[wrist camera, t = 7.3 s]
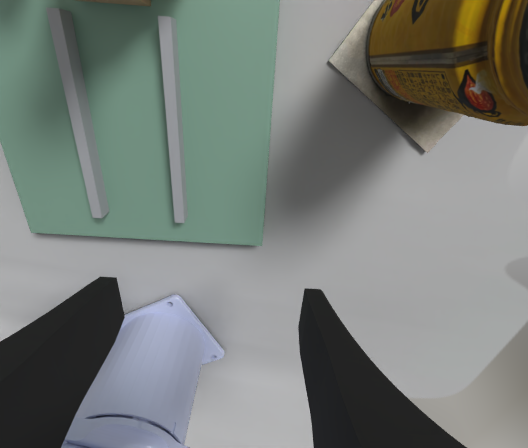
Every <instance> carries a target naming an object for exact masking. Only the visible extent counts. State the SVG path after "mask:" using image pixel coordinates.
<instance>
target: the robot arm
mask: <svg viewBox="0 0 528 448" xmlns="http://www.w3.org/2000/svg"><path fill="white" fill-rule="evenodd" d="M169 302H171V303H172V304H171V303H169ZM299 345H300V355H301V361H302V367H303V373H304V379H305V385H306V391H307V396H308V402H309V408H310V414H311V422H312V431H313V443H314V448H466V447H465V446H464V445H462V444H461V443H460V442H458V441H457V440H456V439H454V438H453V437H452V436H451V435H449V434H448V433H447V432H445V431H444V430H443V429H442V428H441V427H440V426H438V425H437V424H436V423H435V422H434V421H432V420H431V419H430V418H429V417H428V416H427V415H425V414H424V413H423V412H422V411H421V410H420V409H419V408H418V407H417V406H415V405H414V404H413V403H412V402H411V401H410V400H409V399H408V398H407V397H406V396H405V395H404V394H403V393H402V392H401V391H399V390H398V389H397V388H396V387H395V386H394V385H393V384H392V383H391V381H390V380H389V379H388V378H387V377H386V376H385V375H384V374H383V373H382V372H381V371H380V370H379V369H378V368H377V366H376V365H375V364H374V363H373V362H372V361H371V360H370V358H369V357H368V356H367V355H366V354H365V352H364V351H363V350H362V349H361V347H360V346H359V345H358V344H357V342H356V341H355V340H354V338H353V337H352V336H351V334H350V333H349V331H348V330H347V329H346V327H345V326H344V324H343V323H342V322H341V320H340V319H339V317H338V316H337V314H336V313H335V311H334V310H333V308H332V306H331V305H330V303H329V302H328V300H327V298H326V297H325V295H324V293H323V292H322V291H321V289H305V290H304V296H303V302H302V308H301V314H300V321H299ZM223 357H224V350H223V349H222V348H221V346H220V345H219V344H218V343H217V341H216V340H215V339H214V338H213V336H212V335H211V334H210V333H209V331H208V330H207V329H206V328H205V326H204V325H203V324H202V323H201V321H200V320H199V319H198V318H197V316H196V315H195V314H194V313H193V311H192V310H191V309H190V308H189V307H188V305H187V304H186V303H185V302H184V300H183V299H182V298H181V297H180V296H179V295H172V296H169V297H167V298H164V299H162V300H160V301H157V302H155V303H152V304H150V305H147V306H145V307H142V308H140V309H138V310H135V311H133V312H130V313H128V314H125V315H124V312H123V307H122V302H121V297H120V293H119V288H118V283H117V278H112V277H99V278H98V279H96V280H95V281H93V282H92V283H90V284H89V285H87V286H86V287H84V288H83V289H81V290H80V291H78V292H77V293H76V294H74V295H73V296H71V297H70V298H68V299H67V300H65V301H64V302H62V303H61V304H59V305H58V306H57V307H55V308H54V309H52V310H51V311H49V312H48V313H46V314H45V315H43V316H41V317H40V318H38V319H37V320H35V321H34V322H32V323H30V324H29V325H27V326H26V327H24V328H22V329H21V330H19V331H18V332H16V333H14V334H13V335H11V336H9V337H8V338H6V339H4V340H2V341H1V342H0V448H190V447H187V446H184V443H185V438H186V433H187V429H188V424H189V420H190V415H191V410H192V406H193V401H194V396H195V392H196V387H197V383H198V378H199V373H200V369H201V365H203V364H206V363H209V362H212V361H215V360H218V359H221V358H223Z"/></svg>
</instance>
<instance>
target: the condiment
mask: <svg viewBox="0 0 528 448" xmlns="http://www.w3.org/2000/svg"><path fill="white" fill-rule="evenodd" d="M329 61H330V62H331V63H332V64H333V65H334V66H335V67H336V68H337V69H338V70H339V71H340V72H341V73H342V74H343V75H344V76H345V77H347V78H348V79H349V80H350V81H351V82H352V83H353V84H354V85H355V86H356V87H357V88H358V89H359V90H360V91H361V92H362V93H363V94H365V95H366V96H367V97H368V98H369V99H370V100H371V101H372V102H373V103H374V104H375V105H376V106H378V107H379V108H380V109H381V110H382V111H383V112H384V113H385V114H386V115H387V116H389V117H390V118H391V119H392V120H393V121H394V122H395V123H396V124H397V125H398V126H399V127H400V128H401V129H402V130H403V131H404V132H405V133H406V134H408V135H409V136H410V137H411V138H412V139H413V140H414V141H415V142H416V143H418V144H419V145H420V146H421V147H422V148H423V149H424V150H425V151H426V152H427V153H428V152H429V151H430V150H431V149H432V148H433V147H434V146H435V145H436V144H437V142H438V141H439V140H440V138H442V137H443V136H444V135H445V134H446V133H447V132H448V131H449V130H450V128H451V127H453V126H454V125H455V124H456V123H457V122H458V121H459V119H460V118H461V117H462V116H463V115H467V116H468V117H475V118H478V119H482V120H487V121H491V122H494V123H500V124H505V125H516V126H527V125H528V0H374V1H373V3H372V4H371V5H370V6H369V8H368V9H367V10H366V12H365V13H364V14H363V16H362V17H361V18H360V20H359V21H358V22H357V24H356V25H355V26H354V28H353V29H352V30H351V32H350V33H349V35H348V36H347V37H346V39H345V40H344V41H343V42H342V44H341V45H340V46H339V48H338V49H337V50H336V52H335V53H334V54H333V56H332V57H331V58H330V59H329ZM409 102H410V104H409Z"/></svg>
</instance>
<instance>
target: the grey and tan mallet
mask: <svg viewBox="0 0 528 448" xmlns="http://www.w3.org/2000/svg"><path fill="white" fill-rule="evenodd" d="M75 1H86V2H99V3H112V4H125V5H139V6H151V0H75Z"/></svg>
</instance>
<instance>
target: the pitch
mask: <svg viewBox="0 0 528 448" xmlns="http://www.w3.org/2000/svg"><path fill="white" fill-rule="evenodd" d="M279 4H280V0H151V6H139V5H125V4H112V3H99V2H86V1H75V0H0V142H1V145H2V148H3V151H4V154H5V157H6V160H7V163H8V165H9V168H10V171H11V174H12V177H13V180H14V183H15V186H16V189H17V192H18V195H19V198H20V201H21V204H22V207H23V210H24V213H25V216H26V219H27V222H28V225H29V228H30V231H31V233H47V234H64V235H81V236H98V237H116V238H133V239H150V240H168V241H185V242H202V243H219V244H237V245H254V246H262V241H263V227H264V213H265V199H266V185H267V171H268V157H269V143H270V129H271V115H272V101H273V87H274V73H275V59H276V45H277V31H278V18H279Z"/></svg>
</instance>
